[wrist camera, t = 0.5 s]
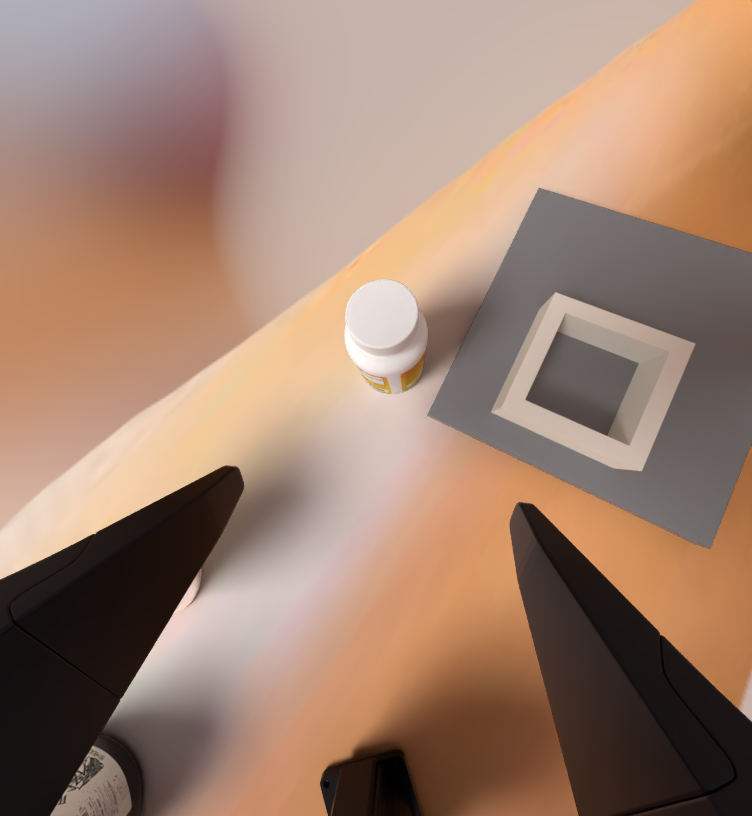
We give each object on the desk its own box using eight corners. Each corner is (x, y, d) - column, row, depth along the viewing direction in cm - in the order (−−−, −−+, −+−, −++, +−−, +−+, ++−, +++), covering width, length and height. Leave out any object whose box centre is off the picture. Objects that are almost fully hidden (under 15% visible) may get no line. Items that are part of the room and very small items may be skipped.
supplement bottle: (417, 330, 24) (422, 256, 15) (428, 389, 23) (441, 350, 14) (358, 342, 25) (326, 277, 15) (366, 400, 24) (338, 369, 14)
